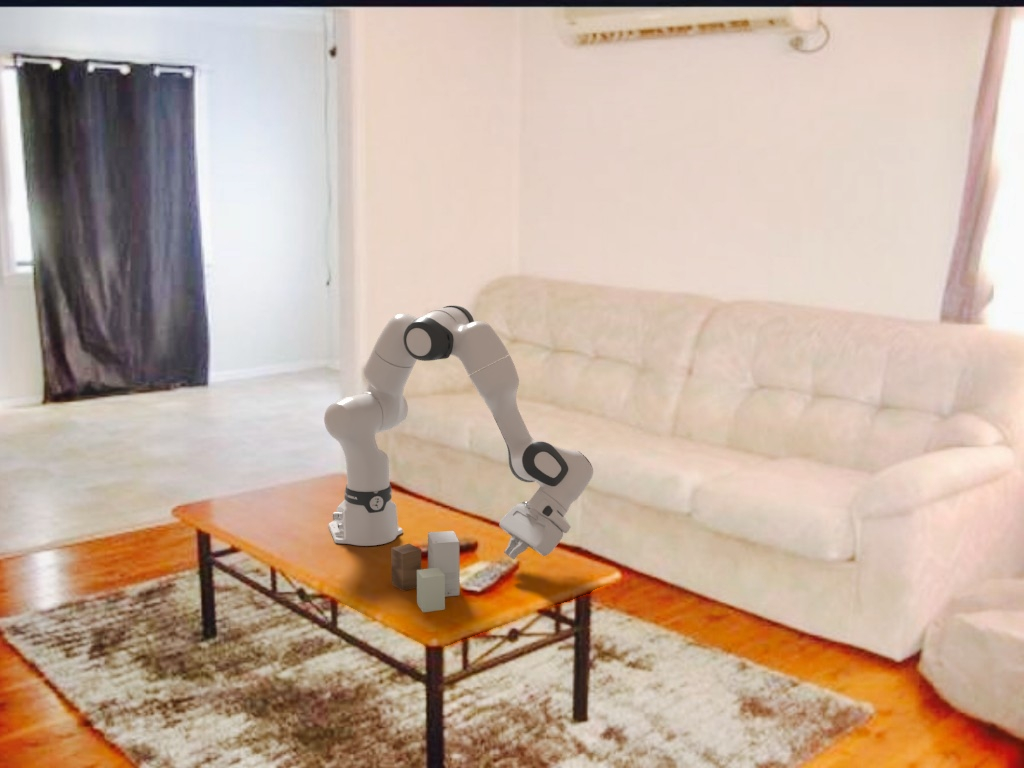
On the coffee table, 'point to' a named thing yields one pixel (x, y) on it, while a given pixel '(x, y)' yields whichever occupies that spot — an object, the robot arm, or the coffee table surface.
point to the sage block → (430, 589)
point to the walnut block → (405, 566)
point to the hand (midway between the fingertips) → (508, 556)
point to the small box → (445, 558)
